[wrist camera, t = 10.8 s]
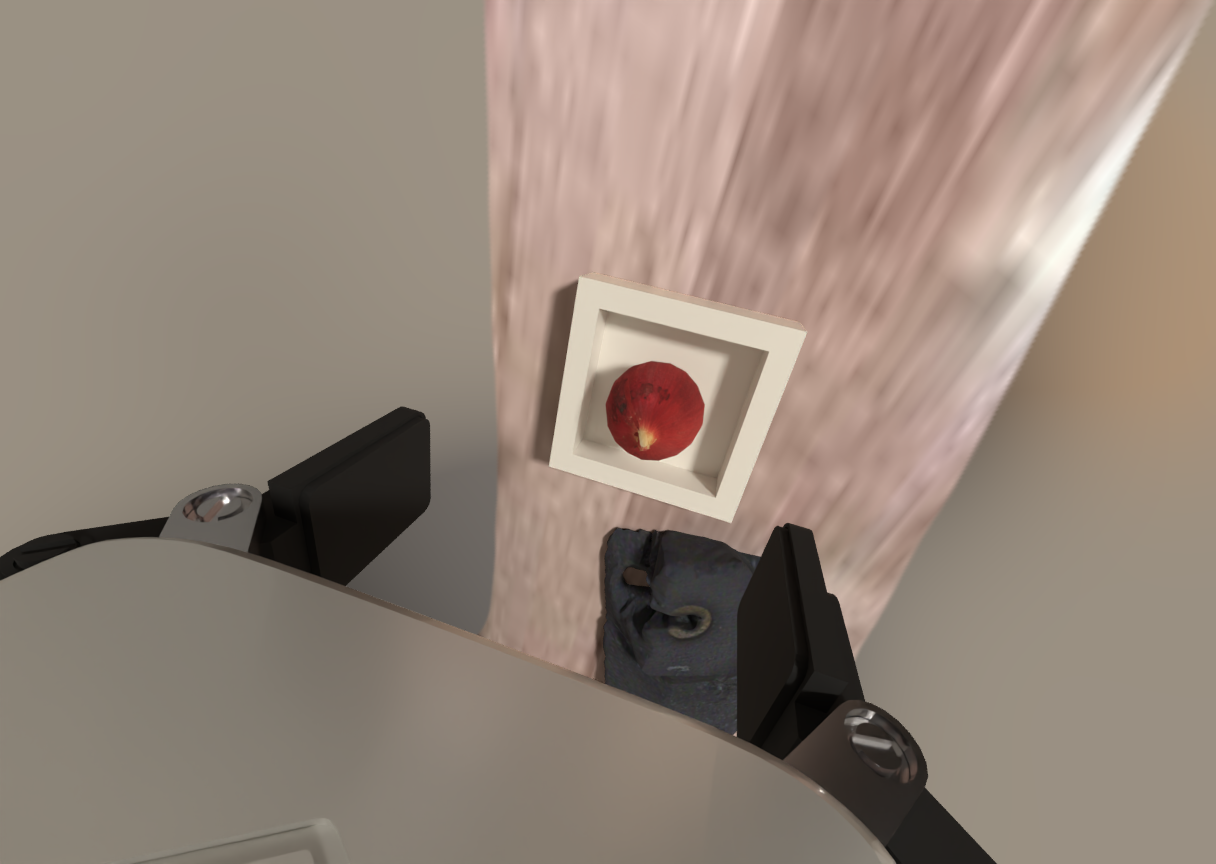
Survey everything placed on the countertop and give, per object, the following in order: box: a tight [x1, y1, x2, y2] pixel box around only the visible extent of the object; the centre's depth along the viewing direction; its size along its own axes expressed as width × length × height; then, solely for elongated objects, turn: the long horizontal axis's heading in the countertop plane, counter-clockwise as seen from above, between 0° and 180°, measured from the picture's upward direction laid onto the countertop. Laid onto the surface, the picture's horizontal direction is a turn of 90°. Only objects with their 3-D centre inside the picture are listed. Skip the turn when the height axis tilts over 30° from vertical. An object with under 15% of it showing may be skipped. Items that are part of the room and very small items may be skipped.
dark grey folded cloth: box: [603, 528, 761, 735], centre depth 37 cm, size 15×22×5 cm
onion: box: [605, 361, 705, 461], centre depth 26 cm, size 6×6×8 cm
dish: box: [549, 272, 807, 523], centre depth 29 cm, size 13×13×3 cm
